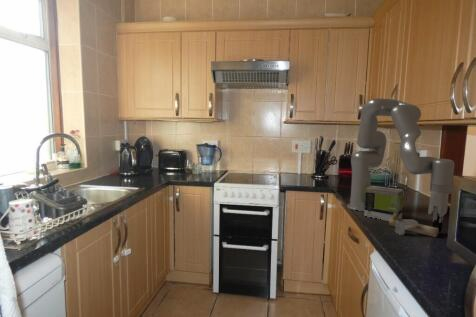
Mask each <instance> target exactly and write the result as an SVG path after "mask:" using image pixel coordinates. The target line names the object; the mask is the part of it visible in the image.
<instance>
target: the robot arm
mask: <svg viewBox="0 0 476 317" xmlns="http://www.w3.org/2000/svg"><path fill="white" fill-rule="evenodd" d="M378 116H381V117H391V120H392V122H393V125H394V127H395V129H396V131H397V134H398V135H399V138H400V143H399V156H400V159H401V162H402V164H403V166H404V168H405V169H406V170H407V172H409V173H410V174H412V175H415V176H416V175H424V174H425V175H427V174H429V175H430V180H429V182H430V183H429V184H430V185H429V191H430V197H429V201H428V202H429V203H428V208H427V209H428V210H427V215H428V216H431V215H432V222H431V223H432V224H431V227H435V228H439V231H438V233H441V232H442V231H443V220H444V216H445V215H446V214H447V212H448V204H449V195H451V194H452V191H453V184H452V183H454V173H455V162H454V160H452V159H448V158H438V157H434V156H419V154H418V152H417V149H416V141H417V139H418V138H419V137H420V136H421V135H422V131H421V128H420V126H419V124H418V123H417V122H418V121H419V120H420V119H421V117H422V112H421V109H420V107H419V106H417V105H414V104H411V103H407V102H404V101H401V100H397V99H392V98H378V97H377V98H372V99H369V100H367V101H365V103H364V104H363V105H362V107H361V112H360V123H359V128H358V133H357V134H358V135H357V139H356V144H357V147H358V148H360V149H365V150H358V151H355V152H354V153H353V154H352V155H351V158H350V164H351V188H350V198H349V200H350V203H348V204H347V208H348V209H349V210H352V211H356V210H358V212H365V193H366V188H368V187H370V186H372V185H371V182H372V176H371V172H370V170H369V169H375V168H378V167H380V166H381V165H382V163H383V160H384V157H385V151H386V146H387V136H386V134H385V133H384V132H382V131H380V130H378V128H379V126H378V125H379V121H378V118H377V117H378Z"/></svg>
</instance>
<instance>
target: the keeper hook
mask: <svg viewBox="0 0 476 317" xmlns="http://www.w3.org/2000/svg"><path fill="white" fill-rule="evenodd" d="M418 224H419V222H418V220H415V219H413V218H412V219H411V218H410V219H409V218H408V219H405V218H404V219H403V218H402V219H396V224H395V227H394V233H395V232H396V233H395V234H397V233H398V234H399V235H398V234H397V235H398V236H404V235H405V225H418Z"/></svg>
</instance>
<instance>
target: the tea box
mask: <svg viewBox="0 0 476 317" xmlns="http://www.w3.org/2000/svg"><path fill="white" fill-rule="evenodd" d="M404 192H405V191H404V189H401V188H394V187H387V186H378V185H371V186H370V187H368V188H366V193H365V211H363V213H364V217H365V216H367V217H366V218H370V217H372V219H375V218H377V219H376V220H380V219H381V221H385V222H389V219H390V218H393V215H394V213H399V216H398V219H403V208H404V207H403V205H404Z"/></svg>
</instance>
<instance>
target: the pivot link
mask: <svg viewBox="0 0 476 317" xmlns="http://www.w3.org/2000/svg"><path fill="white" fill-rule="evenodd" d="M398 216H399V213H394V215H393V218H390V219H389V221H388V226H390V227H392V228H395V224H396V219H398ZM405 230H406V231H410V232H413V233H416V234H417V233H418V234H421V235H425V236H428V237H433V238H437V237H438V236H439V232H438V231H439V228H435V227H432V225H431V226H429V225H426V224H421V223H418V225H405Z"/></svg>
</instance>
